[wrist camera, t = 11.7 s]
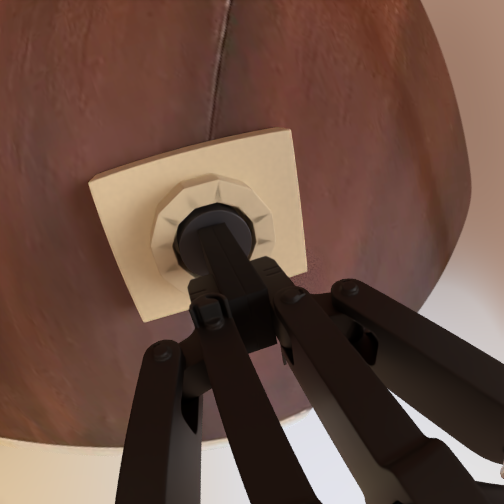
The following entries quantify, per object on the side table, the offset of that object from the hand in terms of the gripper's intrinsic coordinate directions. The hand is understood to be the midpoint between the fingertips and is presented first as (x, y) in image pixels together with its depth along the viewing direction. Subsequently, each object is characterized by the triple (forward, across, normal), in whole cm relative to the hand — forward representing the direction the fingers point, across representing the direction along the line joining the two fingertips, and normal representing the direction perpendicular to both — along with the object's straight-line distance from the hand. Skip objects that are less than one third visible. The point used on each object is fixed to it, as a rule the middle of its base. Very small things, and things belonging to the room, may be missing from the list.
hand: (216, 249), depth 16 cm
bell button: (+2, 0, 0) cm, 2 cm away
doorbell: (+5, 0, 0) cm, 5 cm away
